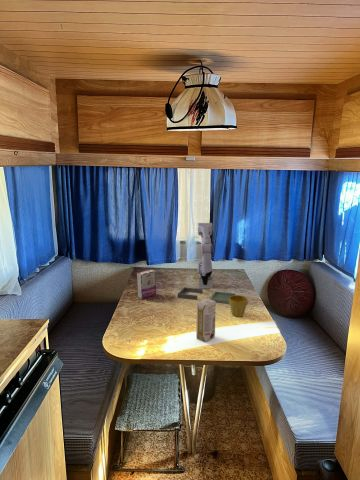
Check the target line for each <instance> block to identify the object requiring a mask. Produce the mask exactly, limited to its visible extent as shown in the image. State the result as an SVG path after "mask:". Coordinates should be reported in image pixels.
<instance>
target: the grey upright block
mask: <svg viewBox="0 0 360 480" xmlns="http://www.w3.org/2000/svg"><path fill="white" fill-rule="evenodd" d="M198 286H199V287H203V288H202V289H206V288H209V289H213V287H214V277H213V276H211V277H209V278H208V282H207V285H203V281H202V278H201V276H200V277H199V278H198Z"/></svg>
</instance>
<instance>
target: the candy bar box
mask: <svg viewBox="0 0 360 480" xmlns="http://www.w3.org/2000/svg"><path fill="white" fill-rule="evenodd" d="M156 276H157V275H156V270H153V269H149V270H143V271H140V272H136V279H137V281H136V282H137V298H139V299H141V300H145V299H149V298H152V297H154V296H155V297H156V296H157V285H156V284H157V277H156Z"/></svg>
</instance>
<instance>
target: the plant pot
mask: <svg viewBox="0 0 360 480" xmlns="http://www.w3.org/2000/svg"><path fill="white" fill-rule="evenodd" d="M248 301H249V299H248V297H247V296H244V295H239V294H236V295H233V296H230V297H229V304H228V305H230V311H231V315H232V316H233V317H235V318H241V317H243V316H244V315H245V310H246V307H247V306H248V303H249V302H248Z"/></svg>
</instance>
